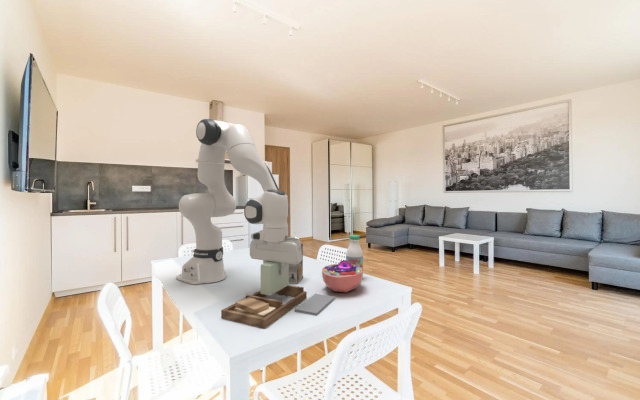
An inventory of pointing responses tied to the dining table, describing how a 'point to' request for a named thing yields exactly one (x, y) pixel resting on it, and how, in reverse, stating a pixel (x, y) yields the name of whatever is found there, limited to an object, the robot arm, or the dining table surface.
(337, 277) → the cell model
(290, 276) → the coffee box
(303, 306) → the slate pad
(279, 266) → the pale green cuboid
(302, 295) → the frame
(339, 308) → the dining table surface
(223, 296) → the dining table surface
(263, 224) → the robot arm
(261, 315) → the offcut stack
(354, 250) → the milk bottle
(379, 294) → the dining table surface
